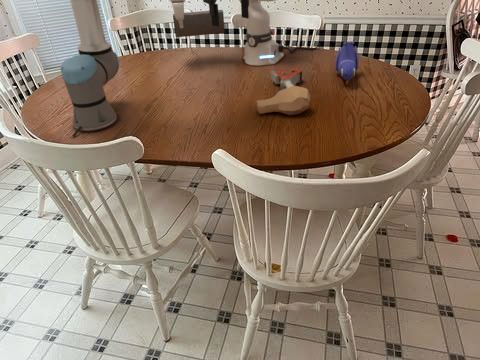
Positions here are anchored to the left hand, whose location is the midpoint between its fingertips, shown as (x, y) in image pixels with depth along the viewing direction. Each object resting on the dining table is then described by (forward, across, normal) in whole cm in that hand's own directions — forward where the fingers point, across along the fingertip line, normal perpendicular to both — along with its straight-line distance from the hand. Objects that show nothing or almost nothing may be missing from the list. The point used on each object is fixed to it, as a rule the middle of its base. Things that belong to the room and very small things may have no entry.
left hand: (230, 21), depth 120 cm
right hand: (+12, -19, -56) cm, 60 cm away
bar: (+16, -26, -51) cm, 59 cm away
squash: (+31, -8, +17) cm, 36 cm away
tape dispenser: (+31, -28, +3) cm, 42 cm away
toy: (+31, -50, +17) cm, 61 cm away
